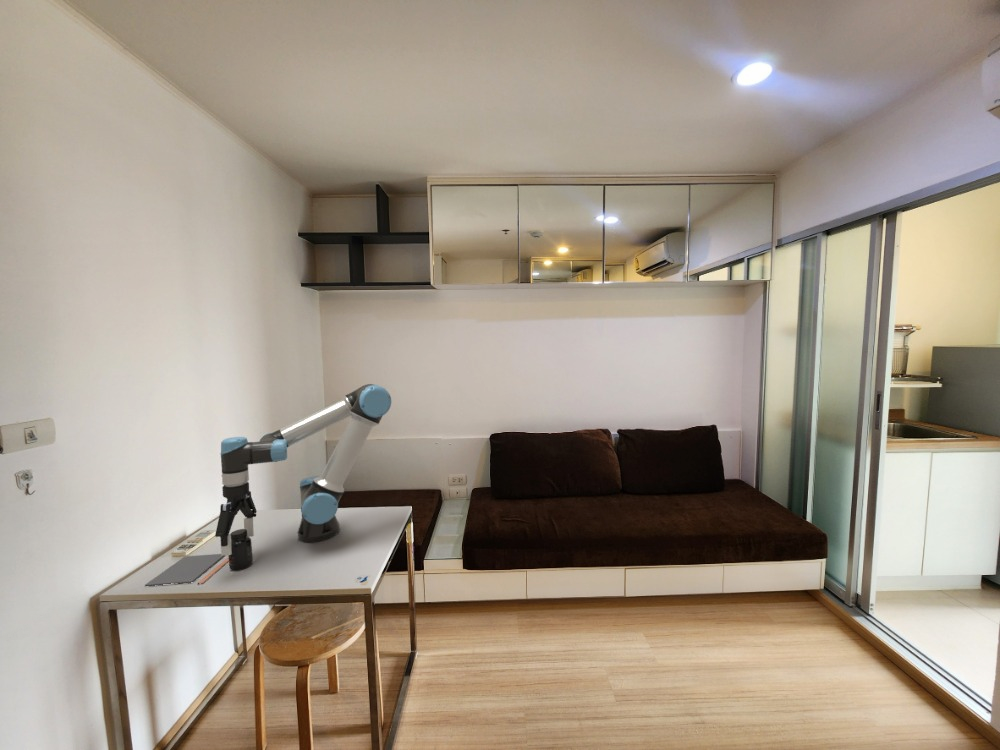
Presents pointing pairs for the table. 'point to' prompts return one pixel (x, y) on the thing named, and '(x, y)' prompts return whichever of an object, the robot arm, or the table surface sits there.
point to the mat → (186, 569)
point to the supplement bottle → (240, 550)
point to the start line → (214, 570)
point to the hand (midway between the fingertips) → (238, 545)
